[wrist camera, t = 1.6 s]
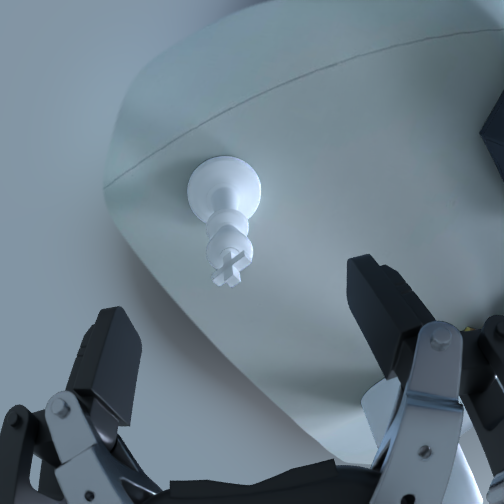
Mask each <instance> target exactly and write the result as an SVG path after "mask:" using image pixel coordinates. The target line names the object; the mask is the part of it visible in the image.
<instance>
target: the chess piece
mask: <svg viewBox="0 0 504 504" xmlns="http://www.w3.org/2000/svg"><path fill="white" fill-rule="evenodd" d="M187 195H188V201H189V205H190V207H191V209H192V211H193V212H194V214H195V215H196V216H197V217H198V218H199V219H200V220H201V221H203V222H204V223H206V232H207V235H208V237H209V239H210V241H209V243H208V246H207V250H206V255H207V259H208V261H209V263H210V264H211V265H212V266H213V267H214V268H215V269H217V271H215V272H214V273H213V274H212V281H213V282H214V283H215V284H216V285H218V286H219V287H220V286H221V285H223V284H224V283H225V282H226V283H227V284H228V285H229V286H230V287H231V288H233V287H234V286H236V285H237V284H238V283H240V282H241V279H240V271H242V270H243V269H244V268H246V267H247V266H249V265H250V264H251V263H252V260H251V259H252V256H253V247H252V244H251V242H250V240H249V239H248V238H247V237H246V236H247V234H248V230H249V224H248V221H247V219H249V218H250V217H251V216H252V215H253V213H254V212H255V211H256V209H257V207H258V205H259V202H260V198H261V185H260V181H259V178H258V176H257V174H256V172H255V171H254V169H253V168H252V167H251V166H250V165H249V164H247V163H246V162H244V161H243V160H241V159H238V158H235V157H231V156H219V157H214V158H211V159H209V160H207V161H205V162H203V163H202V164H201V165H199V166H198V167H197V168H196V169H195V171H194V172H193V173H192V175H191V177H190V179H189V182H188V187H187Z"/></svg>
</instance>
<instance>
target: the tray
mask: <svg viewBox="0 0 504 504" xmlns="http://www.w3.org/2000/svg"><path fill="white" fill-rule="evenodd" d="M479 134H480V135H481V137H482V139H483V141H484V143H485V145H486V146H487V148H488V150H489V152H490V154H491V156H492V158H493V160H494V162H495V164H496V166H497V168H498V171H499V173H500V175H501V177H502V179H503V182H504V90H503V92H502V94H501V96H500V98H499V100H498V102H497V103H496V105H495V107H494V109H493V110H492V112H491V114H490V116H489V117H488V119H487V121H486V122H485V124H484V126H483V127H482V129H481V131H480V132H479Z"/></svg>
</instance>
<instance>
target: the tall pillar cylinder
mask: <svg viewBox="0 0 504 504" xmlns="http://www.w3.org/2000/svg"><path fill="white" fill-rule="evenodd" d="M400 384H401V383H400V381H399V379H398V377H395V378H393V379H390V380H386V378H384V379H383V380H381V381H379V382H378V383H377V384H375V385H374V386H373V387H371V388H370V389H369V390H368V391H367V392H366V393H365V395H364V396H363V398H362V400H361V405H362V408H363V410H364V413H365V415H366V418H367V421H368V423H369V426H370V429H371V431H372V434H373V437H374V439H375V442H376V445H377V448H379V446H380V444H381V442H382V439H383V437H384V434H385V432H386V429H387V426H388V423H389V420H390V417H391V414H392V410H393V407H394V404H395V401H396V397H397V394H398V390H399V387H400ZM482 503H483V500H482V497H481V495H480V492H479V489H478V487H477V484H476V482H475V479H474V477H473V474H472V472H471V470H470V467H469V465H468V463H467V461H466V458H465V456H464V454H463V452H462V449H461V447H460V445H459V443H458V448H457V452H456V456H455V460H454V464H453V468H452V472H451V476H450V479H449V483H448V486H447V489H446V492H445V495H444V498H443V501H442V504H482Z"/></svg>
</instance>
